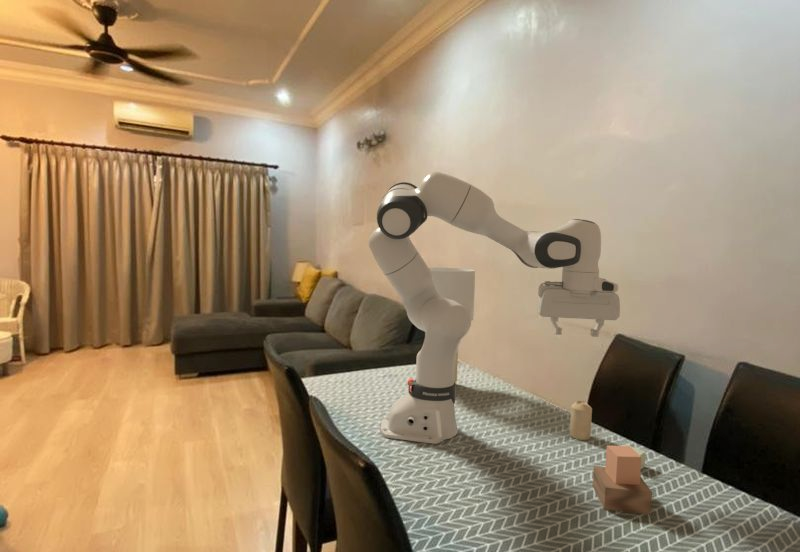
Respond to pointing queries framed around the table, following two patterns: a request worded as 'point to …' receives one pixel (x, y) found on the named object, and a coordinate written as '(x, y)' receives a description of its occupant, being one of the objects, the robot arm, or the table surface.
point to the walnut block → (621, 494)
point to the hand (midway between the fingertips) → (575, 335)
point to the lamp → (455, 290)
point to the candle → (580, 420)
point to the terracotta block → (623, 465)
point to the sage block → (641, 453)
